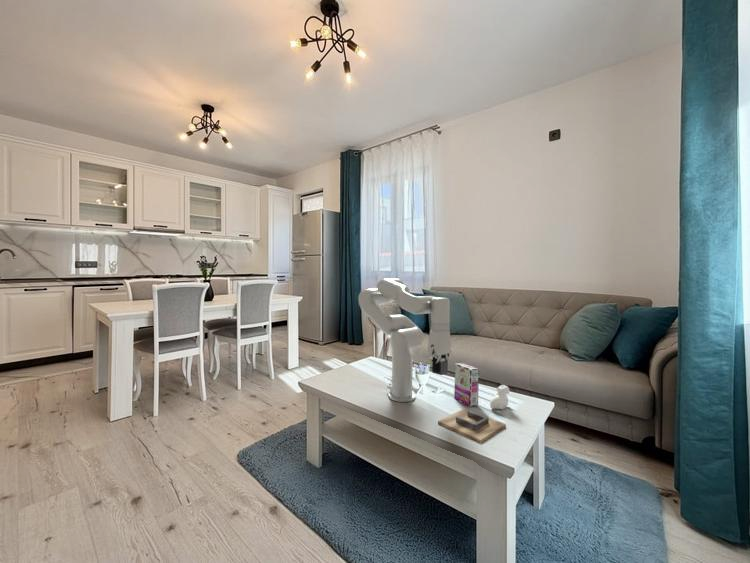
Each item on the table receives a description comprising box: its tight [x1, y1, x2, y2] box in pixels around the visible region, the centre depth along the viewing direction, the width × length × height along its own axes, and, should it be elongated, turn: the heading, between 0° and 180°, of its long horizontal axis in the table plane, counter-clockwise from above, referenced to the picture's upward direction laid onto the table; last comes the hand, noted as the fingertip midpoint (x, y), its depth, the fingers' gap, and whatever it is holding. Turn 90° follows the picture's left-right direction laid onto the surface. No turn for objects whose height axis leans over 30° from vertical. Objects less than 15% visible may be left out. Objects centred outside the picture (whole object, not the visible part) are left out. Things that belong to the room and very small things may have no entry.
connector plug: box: [431, 356, 449, 376], centre depth 130 cm, size 4×4×6 cm
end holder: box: [437, 408, 507, 444], centre depth 119 cm, size 18×18×3 cm
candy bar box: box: [453, 362, 480, 408], centre depth 142 cm, size 11×5×16 cm, turn 23°
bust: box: [489, 384, 510, 410], centre depth 135 cm, size 12×8×11 cm
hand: (439, 370), depth 130 cm, fingers closed on connector plug, 4 cm apart
